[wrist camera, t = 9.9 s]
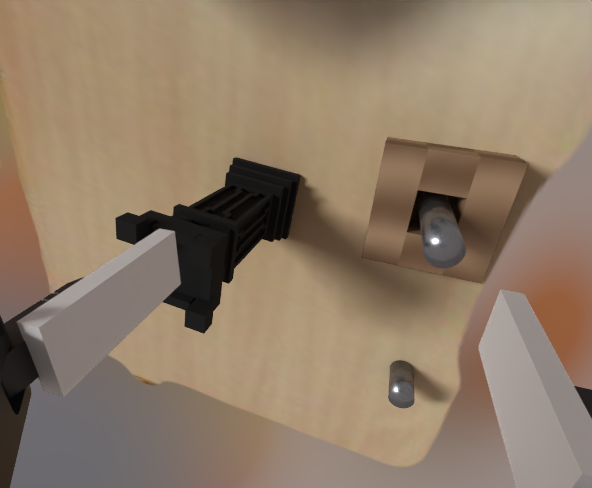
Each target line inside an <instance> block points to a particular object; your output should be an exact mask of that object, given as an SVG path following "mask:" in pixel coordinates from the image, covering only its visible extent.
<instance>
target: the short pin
mask: <svg viewBox="0 0 592 488" xmlns="http://www.w3.org/2000/svg"><path fill="white" fill-rule="evenodd" d="M388 398H389V401H390V402H391V403H392V404H393V405H394V406H396V407H399V408H408V407H411V406H412V405H413V404H414V370H413V367H412V365H411V364H410V363H408V362H406V361H402V360H399V361H395V362H393V363H392V364H391V366H390V378H389V396H388Z"/></svg>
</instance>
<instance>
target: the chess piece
mask: <svg viewBox="0 0 592 488" xmlns="http://www.w3.org/2000/svg"><path fill="white" fill-rule="evenodd" d="M299 180H300V175H299V174H295V173H292V172H288V171H284V170H281V169H277V168H273V167H270V166H266V165H262V164H259V163H255V162H251V161H248V160H244V159H240V158H237V157H236V158H233V164H232V165H230V169H229V172H228V173H226V181H225V187H223V188H221V189H219V190H217V191H216V192H214V193H212V194H210V195H208V196H207V197H205V198H203V199H201V200H200V201H198V202H196V203H194V204H192V205H191V206H189V207H187V206H184V205H181V204H178V205H176V206H175V207H174V211H173V216H167V215H164V214H161V213H158V212H155V211H151V210H150V211H148V212H146V213H144V214H142V215H140V216H137V215H134V214H131V213H126V214H123V215H121V216H119V217H117V218H116V236H117V239H119V240H122V241H125V242H128V243H131V244H134V245H135V244H136V243H138V242H139V241H141V240H143V239H144V238H146V237H147V236H149V235H150V234H152V233H153V232H155V231H156V230H158V229H165V230H170V231H175V237H176V246H177V255H178V263H179V272H180V281H181V284H180V285H179V286H178V287H177V288H176V289H175V290H174V291H173V292H172V293H171V294H170V295H169V296H168V297H167V298H166V299H165V300H164V301H163V302H164V303H167V304H170V305H172V306H175V307H178V308H181V309H184V310H186V311H185V327H187V328H190V329H193V330H196V331H198V332H201V333H205V332H206V330H207V329H208V328H209V327H210V326H211V324H212V318H213V311H214V310H215V309H216V308H217V306H218V305H219V304H220V297H221V288H222V281H223V282H225V283H228V284H229V283H230V282H231V281H232V279H233V273H234V268H235V267H236V266H237V265H238V264H239V263H240V262H241V261H242V260H243V259H244V258H245V257H246V255H247V254H248V253H249V252H250V251H251V250H252V249H253V248H254V247H255V246H256V245H257V244H258V243H259V242H260V240H261V239H264V240H267V241H271V242H273V241H274V239H276V240H279V241H280V239H281V238H283V239H287V238H288V234H289V229H290V225H291V220H292V215H293V210H294V205H295V200H296V195H297V190H298V185H299Z"/></svg>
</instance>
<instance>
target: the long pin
mask: <svg viewBox="0 0 592 488" xmlns="http://www.w3.org/2000/svg"><path fill="white" fill-rule="evenodd" d="M418 208H419V217H420V227H421V236H422V246H423V254H424V257H425V259H426V260H427V262H428V263H430V264H431V265H433V266H435V267H438V268H450V267H453V266H455V265H457V264H459V263H460V262H461V261H462V260H463V258H464V256H465V253H466V246H465V243H464V240H463V238H462V235H461V232H460V230H459V227H458V224H457V221H456V219H455V216H454V213H453V211H452V208H451V205H450V203H449V200H448V197H447V196H446V195H444V194H439V193H433V192H427V191H426V192H425V193H423V194H422V195H421V197H420V198H419V201H418Z"/></svg>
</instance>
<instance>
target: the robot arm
mask: <svg viewBox="0 0 592 488" xmlns="http://www.w3.org/2000/svg"><path fill="white" fill-rule="evenodd" d="M180 284H181V281H180V272H179V263H178V255H177V246H176V237H175V231H170V230H165V229H158V230H156V231H155V232H153V233H152V234H150V235H149V236H147V237H146V238H144V239H143V240H141V241H139V242H138V243H136V244H135V245H133V246H132V247H130V248H129V249H127V250H126V251H124V252H123V253H121V254H120V255H118V256H116V257H115V258H113V259H112V260H110V261H109V262H107V263H106V264H104V265H103V266H101V267H100V268H98V269H97V270H95V271H93V272H92V273H90V274H89V275H87V276H86V277H82V278H80V279H77V280H75V281H72V282H70V283H67V284H66V285H64V286H62V287H61V288H59V289H58V290H56V291H55V292H54V294H52V293H51V294H50V295H48V296H47V297H45V298H44V299H43V301H42V300H41V301H39V302H37V303H36V304H34V305H33V306H31V307H29V308H28V309H26V310H25V311H23V312H22V313H20V314H18V315H17V316H15V317H14V318H12V319H11V320H9V321H7V322H6V323H3V321H2V318H1V316H0V488H10V484H11V480H12V475H13V471H14V467H15V462H16V458H17V454H18V449H19V445H20V440H21V436H22V432H23V427H24V423H25V419H26V415H27V410H28V406H29V401H30V397H31V388H30V385H29V384H30V383H32V382H33V381H34V380H35V379H36V378H38V377H39V380H40V382H41V385H42V387H43V390H44V391H47V392H50V393H53V394H56V395H59V396H63V397H64V396H65V395H66V394H67V393H68V392H69V391H70V390H71V389H72V388H73V387H75V386H76V385H77V384H78V383H79V382H80V381H81V380H82V379H83V378H84V377H85V376H86V375H87V374H88V373H89V372H90V371H91V370H92V369H93V368H94V367H95V366H96V365H97V364H98V363H99V362H100V361H101V360H103V359H104V357H106V356H107V355H108V354H109V353H110V352H111V351H112V350H113V349H114V348H115V347H116V346H117V345H118V344H119V343H120V342H121V341H122V340H123V339H124V338H125V337H126V336H127V335H128V334H129V333H131V332H132V331H133V330H134V329H135V328H136V327H137V326H138V325H139V324H140V323H141V322H142V321H143V320H144V319H145V318H146V317H147V316H148V315H149V314H150V313H151V312H152V311H153V310H154V309H155V308H156V307H157V306H159V305H160V304H161V303H162V302H163V301H164V300H165V299H166V298H167V297H168V296H169V295H170V294H171V293H172V292H173V291H174V290H175V289H176V288H177V287H178V286H179V285H180ZM478 348H479V352H480V356H481V359H482V363H483V367H484V371H485V374H486V378H487V382H488V385H489V389H490V393H491V396H492V400H493V404H494V408H495V411H496V415H497V418H498V422H499V426H500V430H501V433H502V437H503V440H504V445H505V448H506V452H507V455H508V459H509V463H510V466H511V470H512V474H513V477H514V481H515V485H516V488H592V390H590V389H585V388H581V387H576V386H574V385H573V383H572V381H571V380H570V378H569V376H568V374H567V372H566V371H565V368H564V367H563V365H562V363H561V361H560V360H559V357H558V356H557V354H556V352H555V350H554V348H553V346H552V344H551V343H550V341H549V339H548V337H547V335H546V333H545V331H544V330H543V328H542V326H541V324H540V322H539V320H538V319H537V317H536V315H535V313H534V311H533V309H532V308H531V306H530V304H529V302H528V300H527V298H526V296H525V294H523V293H517V292H512V291H506V290H500V293H499V295H498V297H497V300H496V303H495V305H494V308H493V311H492V313H491V316H490V318H489V321H488V323H487V326H486V329H485V331H484V334H483V336H482V339H481V341H480V344H479V347H478Z"/></svg>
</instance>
